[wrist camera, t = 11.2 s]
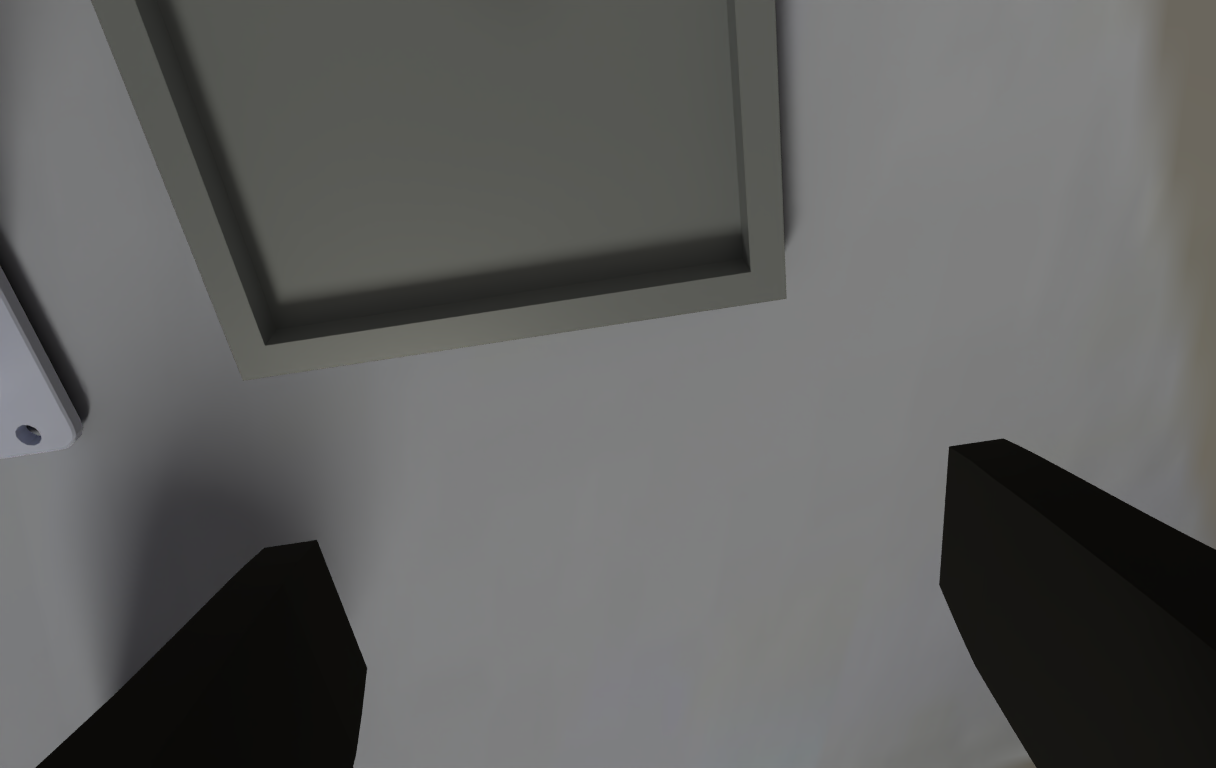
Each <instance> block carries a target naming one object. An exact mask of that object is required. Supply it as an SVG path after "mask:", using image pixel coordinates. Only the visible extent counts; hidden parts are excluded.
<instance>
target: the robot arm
mask: <svg viewBox="0 0 1216 768" xmlns="http://www.w3.org/2000/svg"><path fill="white" fill-rule="evenodd" d="M26 425H30V426H32V427H34V428H36V429H37V430H38V431H39V432H40V434H41V436H37V435H35V434H33V433H31V432H30V431H29V430H28V429H27V427H26ZM82 430H83V426H82V422H81V420H80V418H79V416H78V414H77V412H76V410H75V408H74V406H73V404H72V402H71V400H70V399H69V397H68V395H67V393H66V391H65V389H64V387H63V385H62V383H61V381H60V379H59V377H58V375H57V374H56V372H55V370H54V368H53V366H52V364H51V362H50V360H49V358H48V356H47V354H46V352H45V351H44V349H43V347H42V345H41V343H40V341H39V339H38V337H37V335H36V333H35V331H34V329H33V327H32V326H31V324H30V322H29V320H28V318H27V316H26V314H25V312H24V310H23V308H22V306H21V304H20V303H19V301H18V299H17V297H16V295H15V293H14V291H13V289H12V287H11V285H10V283H9V281H8V279H7V278H6V276H5V274H4V272H3V270H2V268H1V266H0V459H3V458H10V457H16V456H23V455H30V454H36V453H43V452H50V451H56V450H62V449H65V448H68V447H70V446H71V445H72V444H73V443H74V442H75V441H76V440H77V439H78V438H79V437H80V436H81V435H82ZM939 585H940V588H941V590H942V592H943V595H944V597H945V599H946V602H947V604H948V606H949V609H950V611H951V613H952V616H953V618H954V620H955V623H956V625H957V627H958V629H959V632H960V634H961V636H962V638H963V640H964V642H965V645H966V647H967V649H968V651H969V653H970V655H971V658H972V660H973V662H974V664H975V666H976V668H977V669H978V671H979V673H980V675H981V676H982V678H983V680H984V681H985V683H986V685H987V687H988V688H989V690H990V692H991V693H992V695H993V697H994V698H995V700H996V702H997V703H998V705H999V707H1000V708H1001V710H1002V712H1003V713H1004V715H1005V717H1006V718H1007V720H1008V722H1009V723H1010V725H1011V727H1012V728H1013V730H1014V732H1015V733H1016V735H1017V737H1018V738H1019V740H1020V741H1021V743H1022V745H1023V746H1024V748H1025V750H1026V751H1027V753H1028V755H1029V756H1030V758H1031V759H1032V761H1033V763H1034V764H1035V766H1036V768H1216V550H1215V549H1213V548H1211V547H1209V546H1207V545H1205V544H1203V543H1201V542H1199V541H1197V540H1195V539H1193V538H1191V537H1190V536H1188V535H1186V534H1184V533H1182V532H1180V531H1178V530H1176V529H1174V528H1172V527H1170V526H1168V525H1167V524H1165V523H1163V522H1161V521H1159V520H1157V519H1155V518H1153V517H1151V516H1149V515H1148V514H1146V513H1144V512H1142V511H1140V510H1138V509H1136V508H1134V507H1133V506H1131V505H1129V504H1127V503H1125V502H1123V501H1121V500H1120V499H1118V498H1116V497H1114V496H1112V495H1110V494H1108V493H1107V492H1105V491H1103V490H1101V489H1099V488H1097V487H1096V486H1094V485H1092V484H1090V483H1088V482H1086V481H1085V480H1083V479H1081V478H1079V477H1077V476H1075V475H1074V474H1072V473H1070V472H1068V471H1066V470H1064V469H1062V468H1061V467H1059V466H1057V465H1055V464H1053V463H1051V462H1049V461H1047V460H1046V459H1044V458H1042V457H1040V456H1038V455H1036V454H1034V453H1032V452H1030V451H1028V450H1026V449H1024V448H1022V447H1020V446H1018V445H1016V444H1014V443H1012V442H1010V441H1008V440H1006V439H997V440H991V441H984V442H977V443H970V444H963V445H957V446H950V447H949V455H948V469H947V484H946V498H945V512H944V526H943V540H942V555H941V569H940V583H939ZM366 673H367V667H366V664H365V661H364V659H363V656H362V654H361V651H360V649H359V646H358V644H357V641H356V639H355V636H354V633H353V631H352V628H351V626H350V623H349V621H348V618H347V616H346V613H345V611H344V608H343V605H342V603H341V600H340V598H339V595H338V593H337V590H336V588H335V585H334V582H333V580H332V577H331V575H330V572H329V570H328V567H327V565H326V562H325V560H324V557H323V554H322V552H321V549H320V547H319V544H318V542H317V540H314V541H308V542H301V543H294V544H287V545H281V546H274V547H267V548H264V549H263V550H261V551H260V552H259V553H258V554H257V555H256V556H255V557H254V558H252V559H251V560H250V561H249V562H248V563H247V564H246V565H245V566H244V567H243V568H242V569H241V570H240V571H239V572H238V573H237V574H236V575H235V576H233V577H232V578H231V579H230V580H229V581H228V582H227V583H226V584H225V585H224V586H223V587H222V588H221V589H220V590H219V591H218V592H217V593H216V594H215V595H214V596H213V597H212V598H211V599H210V600H209V601H208V602H207V603H206V604H205V605H204V606H203V607H202V608H201V609H200V610H199V611H198V612H197V613H196V614H195V615H194V616H193V617H192V618H191V619H190V620H189V621H188V622H187V623H186V624H185V625H184V626H183V627H182V628H181V629H180V630H179V631H178V632H177V633H176V634H175V635H174V636H173V637H172V638H171V639H170V640H169V641H168V642H167V643H166V644H165V645H164V646H163V647H162V648H161V649H160V650H159V651H158V652H157V653H156V654H155V655H154V656H153V657H152V658H151V659H150V660H149V661H148V662H147V663H146V664H145V665H144V666H143V667H142V668H141V669H140V670H139V671H138V672H137V673H136V674H135V675H134V676H133V677H132V678H131V679H130V680H129V681H128V682H127V683H126V684H125V685H124V686H123V687H122V688H121V689H120V690H119V691H118V692H117V693H116V694H115V695H114V696H113V697H111V698H110V699H109V700H108V701H107V702H106V703H105V704H104V705H103V706H102V707H101V708H100V709H98V710H97V711H96V712H95V713H94V714H93V715H92V716H91V717H90V718H89V719H88V720H87V721H85V722H84V723H83V724H82V725H81V726H80V727H79V728H78V729H77V730H76V731H75V732H74V733H73V734H71V735H70V736H69V737H68V738H67V739H66V740H65V741H64V742H63V743H62V744H61V745H60V746H58V747H57V748H56V749H55V750H54V751H53V752H52V753H51V754H50V755H49V756H48V757H47V758H45V759H44V760H43V761H42V762H41V763H40V764H39V765H38V766H37V767H36V768H353V764H354V760H355V756H356V751H357V744H358V737H359V730H360V723H361V716H362V708H363V699H364V690H365V682H366Z"/></svg>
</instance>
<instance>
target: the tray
mask: <svg viewBox="0 0 1216 768" xmlns="http://www.w3.org/2000/svg"><path fill="white" fill-rule="evenodd" d="M91 1H92V4H93V6H94V9H95V11H96V14H97V16H98V19H99V21H100V24H101V26H102V29H103V31H104V34H105V36H106V39H107V41H108V44H109V46H110V49H111V51H112V54H113V56H114V59H115V61H116V64H117V66H118V69H119V71H120V74H121V76H122V79H123V81H124V84H125V86H126V89H127V91H128V94H129V96H130V99H131V101H132V104H133V106H134V109H135V111H136V114H137V116H138V119H139V121H140V124H141V126H142V129H143V131H144V134H145V136H146V139H147V141H148V144H149V146H150V149H151V151H152V154H153V156H154V159H155V161H156V164H157V166H158V169H159V171H160V174H161V176H162V179H163V181H164V184H165V186H166V189H167V191H168V194H169V196H170V199H171V201H172V204H173V207H174V209H175V212H176V214H177V217H178V219H179V222H180V224H181V227H182V229H183V232H184V234H185V237H186V239H187V242H188V244H189V247H190V249H191V252H192V254H193V257H194V259H195V262H196V264H197V267H198V269H199V272H200V274H201V277H202V279H203V282H204V284H205V287H206V289H207V292H208V294H209V297H210V299H211V302H212V304H213V307H214V309H215V312H216V314H217V317H218V319H219V322H220V324H221V327H222V329H223V332H224V334H225V337H226V339H227V342H228V344H229V347H230V349H231V352H232V354H233V357H234V359H235V362H236V364H237V367H238V369H239V372H240V374H241V377H242V379H243V381H245V380H251V379H258V378H265V377H271V376H278V375H285V374H291V373H298V372H304V371H311V370H318V369H324V368H331V367H337V366H344V365H351V364H357V363H364V362H371V361H377V360H384V359H390V358H397V357H404V356H410V355H417V354H423V353H430V352H437V351H443V350H450V349H457V348H463V347H470V346H476V345H483V344H490V343H496V342H503V341H509V340H516V339H523V338H529V337H536V336H543V335H549V334H556V333H562V332H569V331H576V330H582V329H589V328H595V327H602V326H609V325H615V324H622V323H629V322H635V321H642V320H648V319H655V318H662V317H668V316H675V315H681V314H688V313H695V312H701V311H708V310H715V309H721V308H728V307H734V306H741V305H748V304H754V303H761V302H767V301H774V300H781V299H786V274H785V248H784V222H783V196H782V169H781V143H780V117H779V91H778V65H777V39H776V13H775V0H91Z"/></svg>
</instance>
